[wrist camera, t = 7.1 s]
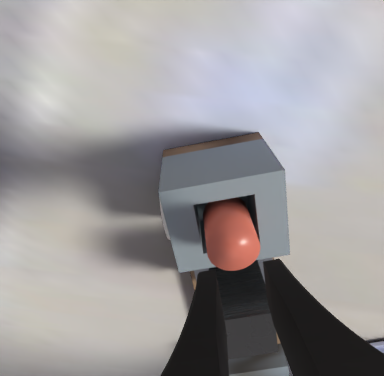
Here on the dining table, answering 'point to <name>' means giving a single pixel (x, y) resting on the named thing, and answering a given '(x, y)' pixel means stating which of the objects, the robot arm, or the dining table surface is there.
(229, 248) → the button
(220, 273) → the block
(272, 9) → the dining table surface
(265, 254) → the cabinet
